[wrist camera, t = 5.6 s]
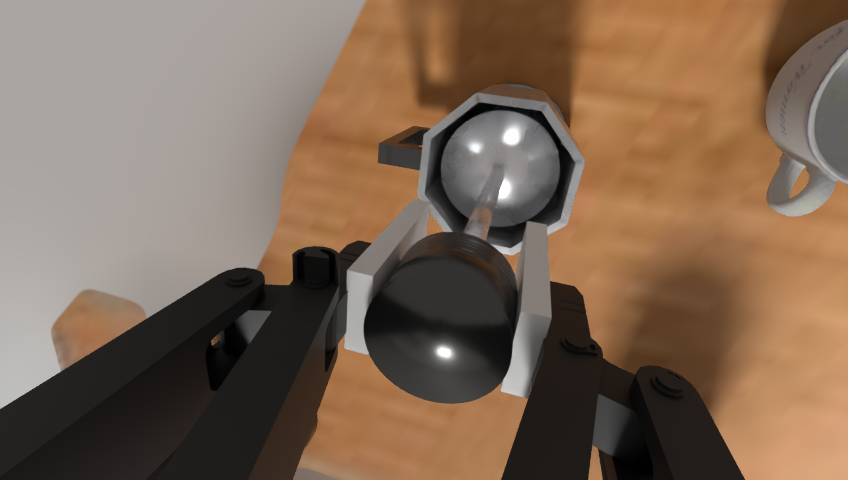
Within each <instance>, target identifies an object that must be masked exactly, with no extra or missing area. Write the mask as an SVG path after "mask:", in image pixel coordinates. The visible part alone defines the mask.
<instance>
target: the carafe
mask: <svg viewBox="0 0 848 480" xmlns="http://www.w3.org/2000/svg"><path fill="white" fill-rule="evenodd" d="M493 110H512V111H516V112H520V113H523V114H525V115H528V116H529V117H531V118H533V119H535V120H536V121H537V122H539V123H540V124H541V125H542V126H543V127H544V128H545V129H546V130H547V132H548V133H549V134H550V136H551V137H552V139H553V141H554V143H555V146H556V148H557V152H558V156H559V163H560V174H559V180H558V184H557V187H556V190H555V192H554V194H553V196H552V198H551V199H550V201H549V202H548V204H547V205H546V206H545V207H544V208H543V209H542V210H541V211H540V212H539V213H538V214H536V215H535V216H533V217H532V218H530V219H528V220H526V221H524V222H522V223H519V224H516V225H512V226H504V227H494V226H490V227H489V230H488V234H487V237H486V240H485V241H486V242H488V243H489V244H491V245H492V246H494V247H495V248H496V249H497V250H498V251H499V252H500V253H503V254H508V255H514V254H516V253H517V252H519V251H520V250H521V246H522V242H523V237H524V233H525V229H526V225H527V221H530V222H535V223H541V224H546V225H547V236H548V235H549V234H551V233H553V232H555V231H557V230H558V229H560V228H562V227H564V226H566V225H567V224H568V220H569V217H570V213H571V210H572V206H573V203H574V199H575V196H576V192H577V189H578V185H579V182H580V178H581V175H582V171H583V167H584V164H585V159H584V157H583V155H582V153H581V151H580V149H579V147H578V145H577V143H576V141H575V139H574V137H573V134H572V132H571V130H570V129H569V127H568V125H567V124H566V121H565V119H564V116H563V114H562V112H561V111H560V109H559V107H558V106H557V105H556V103H555V102H554V101H553V100H552V99H551V98H550V97H549V96H548V95H547V93H546V92H545V90H542V89H536V88H533V87H530V86H527V85H522V84H497V83H496V84H494V85H492V86H490V87H488V88H485V89H483V90H481V91H479V92H477V93H475V94H474V95H473V96H471V97H470V98H469V99H468V100H466V101H465V102H464V103H463V104H461V105H460V106H459V107H458V108H456V109H455V110H454V111H453V112H451V113H450V114H449V115H448V116H446V117H445V118H444V119H443V120H441V121H440V122H439V123H438V124H436V125H435V126H434V127H433V128H431V129H430V128H424V127H418V126H413V127H411V128H409V129H407V130H405V131H403V132H401V133H399V134H397V135H395V136H393V137H391V138H389V139H387V140H385V141H383V142H381V143H379V153H378V163H382V164H387V165H393V166H399V167H404V168H410V169H415V170H420V174H419V183H418V192H417V196H418V198H419V199H420V200H421V201H426V202H431V203H430V211H429V212H430V213H431V215H432V216H433V217H434V219H435V220H436V221H437V223H438V224H439V225H440V227H441V228H442V229H443V231H444V232H460V233H463V232H464V230H465V227H466V225H467V223H468V221H469V218H468V217H466V216H465V215H463V214H462V213H461V212H460V211H459V210H458V209H457V208H456V207H455V206H454V205H453V204H452V202H451V201H450V199H449V198H448V196H447V194H446V192H445V189H444V186H443V182H442V177H441V162H442V157H443V153H444V150H445V147H446V145H447V143H448V141H449V140H450V138H451V137H452V135H453V134H454V133H455V132H456V130H457V129H458V128H459V127H460V126H462V125H463V124H464V123H465V122H467V121H468V120H470V119H471V118H473V117H475V116H477V115H479V114H481V113H484V112H488V111H493ZM420 145H422V147H418V146H420Z"/></svg>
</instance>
